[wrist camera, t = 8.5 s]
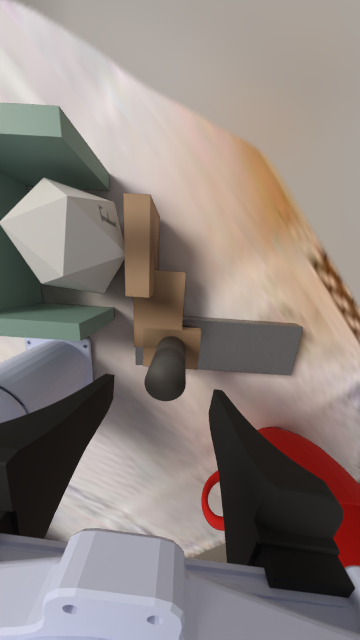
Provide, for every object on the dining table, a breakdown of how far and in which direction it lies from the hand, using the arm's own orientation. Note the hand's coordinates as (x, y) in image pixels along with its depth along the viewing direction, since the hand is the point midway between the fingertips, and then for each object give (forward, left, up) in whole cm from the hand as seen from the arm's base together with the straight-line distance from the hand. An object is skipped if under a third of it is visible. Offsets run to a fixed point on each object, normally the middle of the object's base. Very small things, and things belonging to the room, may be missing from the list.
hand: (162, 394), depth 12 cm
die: (+10, +9, -10) cm, 17 cm away
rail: (+1, -5, -10) cm, 11 cm away
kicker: (+6, 0, -9) cm, 11 cm away
